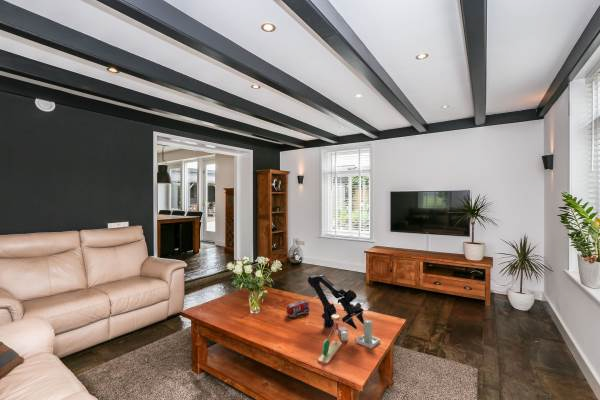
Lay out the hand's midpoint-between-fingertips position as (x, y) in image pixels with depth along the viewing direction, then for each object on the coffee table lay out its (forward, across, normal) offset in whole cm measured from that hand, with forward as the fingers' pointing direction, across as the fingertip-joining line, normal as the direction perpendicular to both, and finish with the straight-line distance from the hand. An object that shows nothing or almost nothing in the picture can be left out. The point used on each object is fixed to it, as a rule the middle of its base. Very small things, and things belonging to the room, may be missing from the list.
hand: (360, 326), depth 190 cm
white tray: (+10, 0, +2) cm, 10 cm away
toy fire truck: (-34, -2, +47) cm, 58 cm away
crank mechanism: (+3, -27, +9) cm, 28 cm away
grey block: (-2, -3, +15) cm, 15 cm away
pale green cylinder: (+10, 0, +1) cm, 10 cm away
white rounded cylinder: (+1, -8, +11) cm, 14 cm away
